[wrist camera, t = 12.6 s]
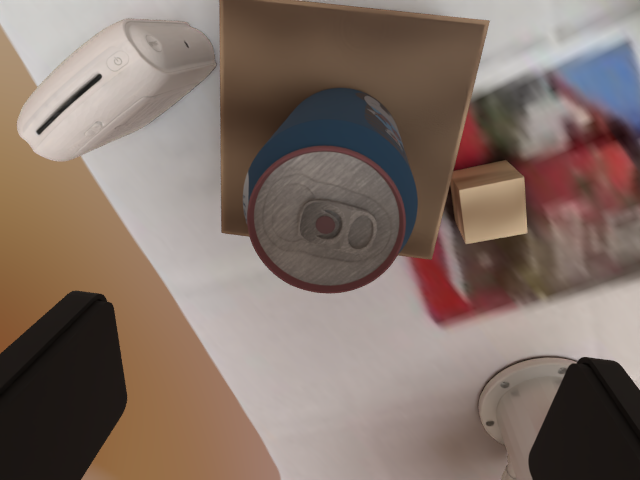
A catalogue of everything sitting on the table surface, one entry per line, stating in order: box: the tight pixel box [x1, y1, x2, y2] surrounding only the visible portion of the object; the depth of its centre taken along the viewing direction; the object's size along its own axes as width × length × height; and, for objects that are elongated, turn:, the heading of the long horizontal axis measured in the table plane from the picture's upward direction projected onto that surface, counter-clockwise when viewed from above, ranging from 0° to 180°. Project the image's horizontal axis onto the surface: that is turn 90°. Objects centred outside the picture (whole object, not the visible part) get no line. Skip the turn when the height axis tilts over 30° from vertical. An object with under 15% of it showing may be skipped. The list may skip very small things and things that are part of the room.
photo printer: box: [17, 19, 217, 161], centre depth 29 cm, size 10×4×12 cm, turn 124°
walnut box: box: [219, 0, 490, 260], centre depth 30 cm, size 14×14×9 cm
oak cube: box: [450, 160, 527, 244], centre depth 34 cm, size 4×4×4 cm
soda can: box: [243, 88, 418, 293], centre depth 21 cm, size 7×7×12 cm
